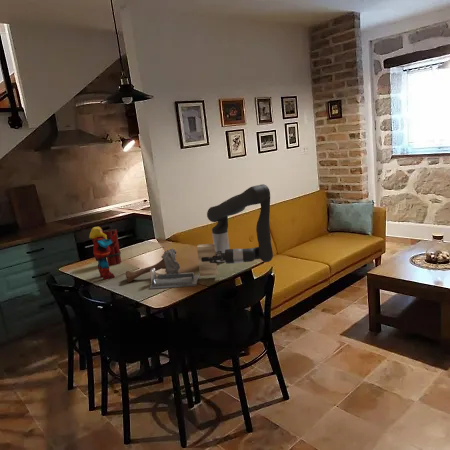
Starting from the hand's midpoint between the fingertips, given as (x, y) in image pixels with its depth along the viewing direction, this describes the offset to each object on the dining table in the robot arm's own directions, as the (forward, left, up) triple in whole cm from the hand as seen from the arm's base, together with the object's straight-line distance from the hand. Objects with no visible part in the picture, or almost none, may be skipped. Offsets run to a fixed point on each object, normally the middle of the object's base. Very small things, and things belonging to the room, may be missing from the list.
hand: (202, 258), depth 214 cm
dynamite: (-41, -62, -12) cm, 75 cm away
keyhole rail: (+3, -15, -11) cm, 19 cm away
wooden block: (0, +3, -9) cm, 10 cm away
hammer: (-9, -29, -12) cm, 32 cm away
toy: (-14, -56, -12) cm, 59 cm away
